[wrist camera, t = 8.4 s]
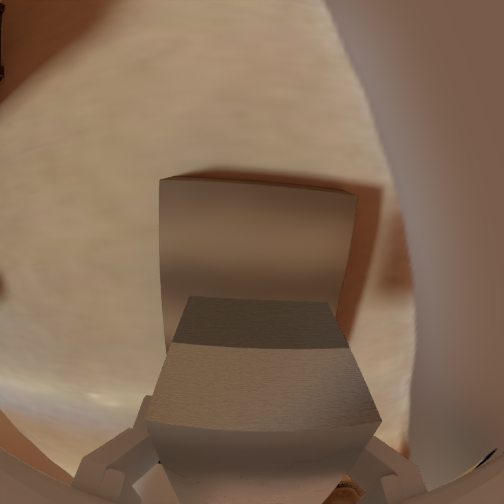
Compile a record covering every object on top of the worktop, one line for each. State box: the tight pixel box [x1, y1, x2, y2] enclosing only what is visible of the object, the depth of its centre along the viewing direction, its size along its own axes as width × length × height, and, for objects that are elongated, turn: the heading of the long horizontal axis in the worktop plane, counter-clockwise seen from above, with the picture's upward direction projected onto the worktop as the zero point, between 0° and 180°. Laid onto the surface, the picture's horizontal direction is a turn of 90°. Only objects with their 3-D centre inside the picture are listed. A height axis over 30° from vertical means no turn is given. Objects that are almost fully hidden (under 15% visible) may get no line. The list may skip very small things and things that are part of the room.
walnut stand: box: [159, 176, 358, 353], centre depth 20 cm, size 14×12×3 cm
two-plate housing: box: [144, 296, 382, 504], centre depth 8 cm, size 4×8×5 cm, turn 177°
